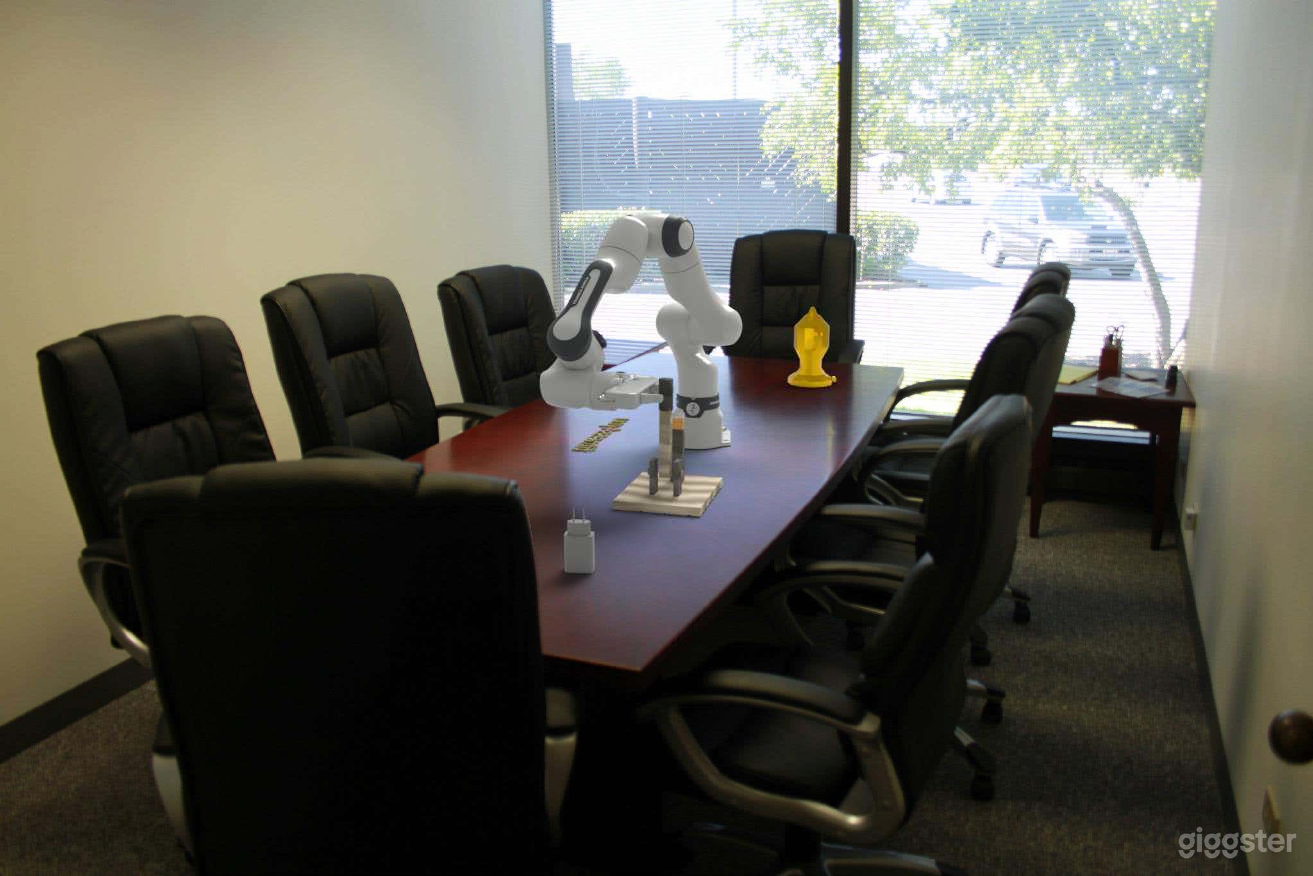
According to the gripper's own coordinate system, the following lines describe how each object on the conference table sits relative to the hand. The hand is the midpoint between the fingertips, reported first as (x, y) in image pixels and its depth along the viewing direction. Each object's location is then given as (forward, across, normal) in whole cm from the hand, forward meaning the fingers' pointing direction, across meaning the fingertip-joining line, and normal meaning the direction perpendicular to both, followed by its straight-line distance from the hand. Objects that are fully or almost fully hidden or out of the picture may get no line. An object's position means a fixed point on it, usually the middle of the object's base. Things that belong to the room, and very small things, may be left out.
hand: (668, 394), depth 217 cm
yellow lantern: (+15, +153, +25) cm, 156 cm away
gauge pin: (-1, +10, +9) cm, 14 cm away
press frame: (0, +4, +25) cm, 25 cm away
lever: (0, 0, +18) cm, 18 cm away
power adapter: (-6, -44, +25) cm, 51 cm away
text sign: (-35, +57, +26) cm, 71 cm away
